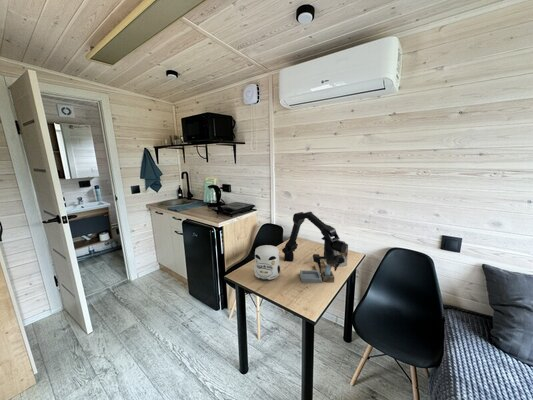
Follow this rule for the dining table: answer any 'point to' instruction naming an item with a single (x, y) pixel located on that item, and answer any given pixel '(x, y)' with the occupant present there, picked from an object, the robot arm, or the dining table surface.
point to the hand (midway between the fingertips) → (327, 270)
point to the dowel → (327, 270)
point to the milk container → (267, 262)
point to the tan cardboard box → (318, 267)
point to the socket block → (327, 277)
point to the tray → (310, 276)
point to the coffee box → (343, 256)
